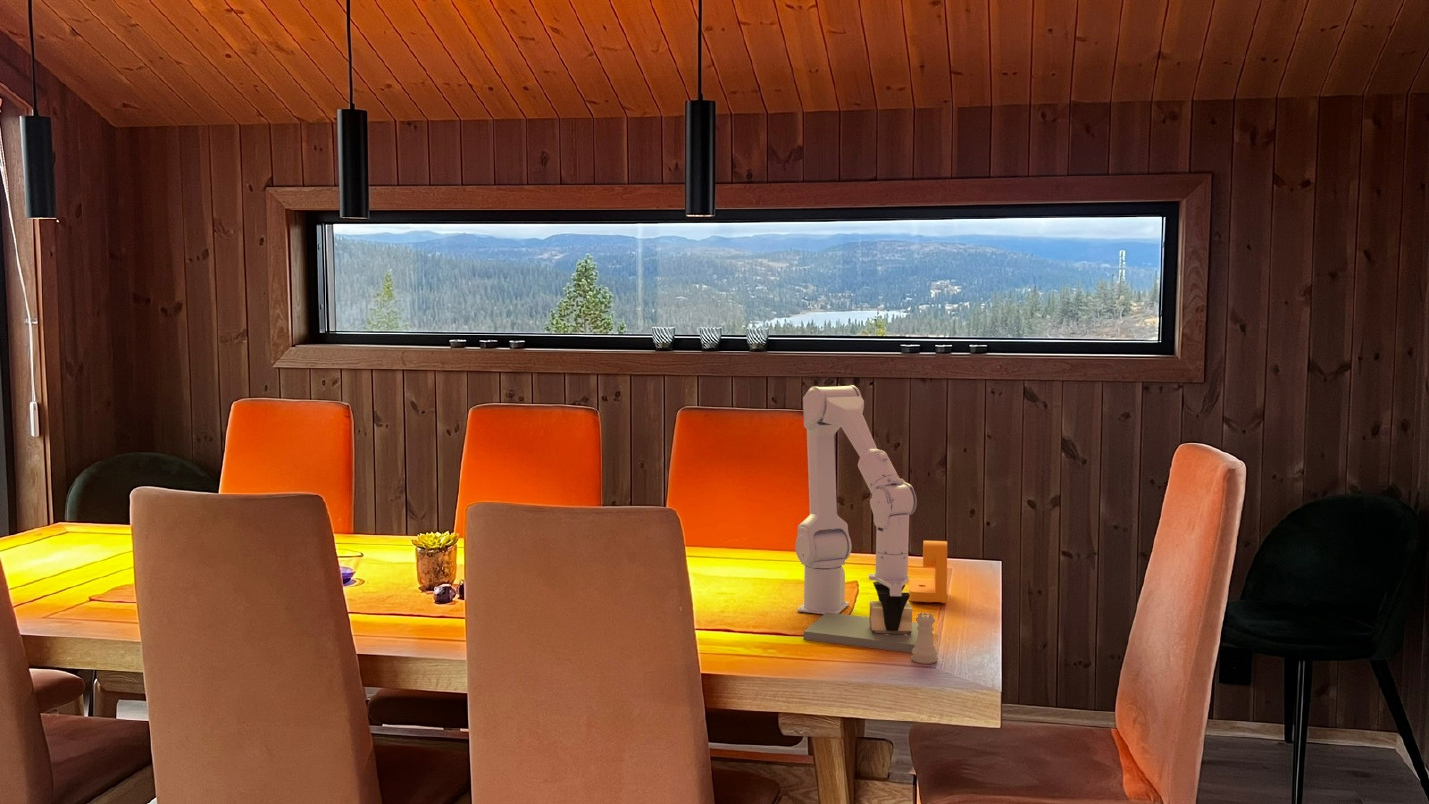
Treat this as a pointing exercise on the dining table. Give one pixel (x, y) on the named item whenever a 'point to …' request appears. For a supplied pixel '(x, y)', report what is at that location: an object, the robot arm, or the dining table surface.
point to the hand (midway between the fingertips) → (890, 626)
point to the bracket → (938, 587)
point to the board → (858, 633)
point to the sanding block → (879, 624)
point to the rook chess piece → (924, 641)
